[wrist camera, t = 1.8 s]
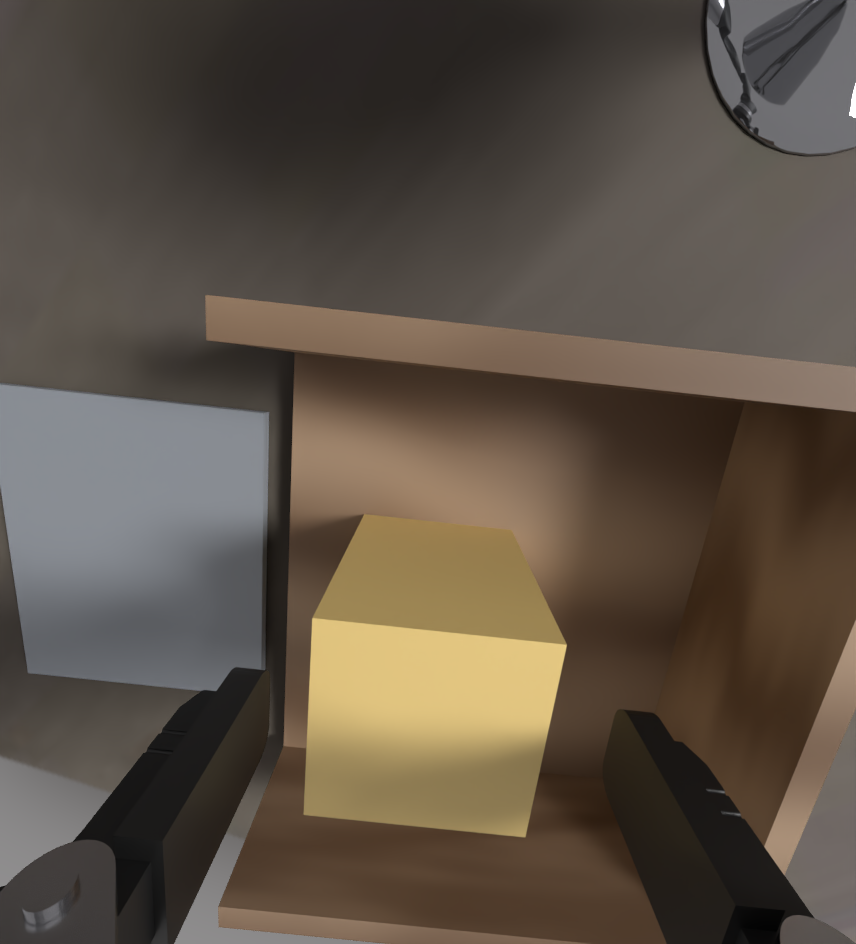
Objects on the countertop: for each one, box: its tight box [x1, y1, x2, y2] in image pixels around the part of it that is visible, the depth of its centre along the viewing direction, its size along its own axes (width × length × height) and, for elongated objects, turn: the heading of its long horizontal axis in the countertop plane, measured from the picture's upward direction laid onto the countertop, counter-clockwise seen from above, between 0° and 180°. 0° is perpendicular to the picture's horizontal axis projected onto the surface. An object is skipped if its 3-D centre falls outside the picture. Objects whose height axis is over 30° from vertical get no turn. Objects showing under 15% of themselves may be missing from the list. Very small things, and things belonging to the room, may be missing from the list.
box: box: [205, 295, 856, 944], centre depth 12 cm, size 17×15×6 cm
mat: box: [0, 383, 269, 691], centre depth 15 cm, size 11×9×1 cm
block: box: [304, 514, 567, 837], centre depth 12 cm, size 5×5×6 cm
